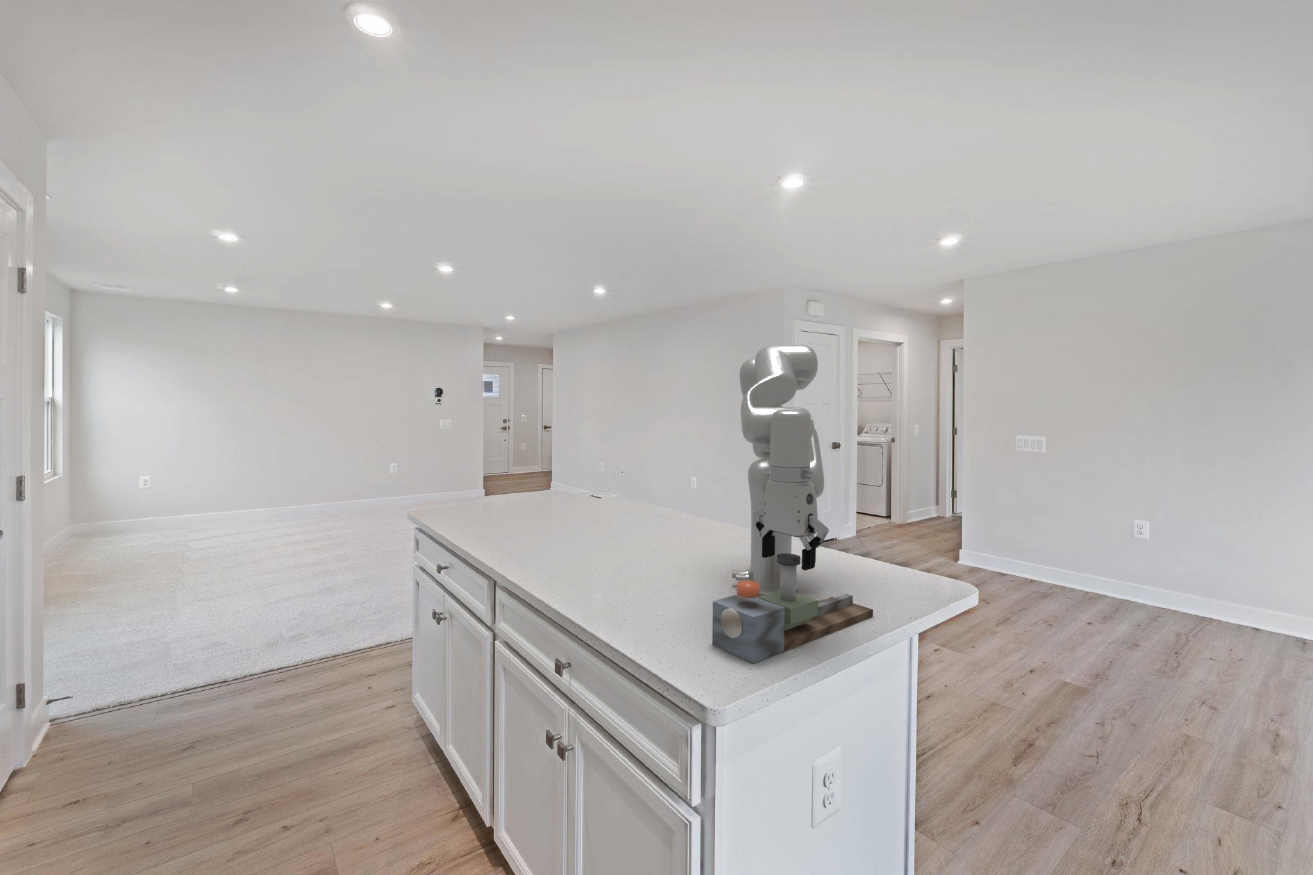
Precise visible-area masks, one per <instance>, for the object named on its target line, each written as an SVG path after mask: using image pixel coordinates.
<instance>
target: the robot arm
mask: <svg viewBox="0 0 1313 875" xmlns="http://www.w3.org/2000/svg"><path fill="white" fill-rule="evenodd" d="M818 365H819V362H818V356H817V353H816V352H815V350H814V349H813V348H812V347H811V346H809V345H807V344H806V345H805V344H772V345H767V346H766V345H765V346H764V347H762V348H760V349H759V350H758V351H757V353H756V355H755V357H754V358H749V359H747V360H744V361H743V363H742V364H741V366H740V367H739V368H740V369H739V383H740V389H741V393H742V398H743V399H742V401H741V404H740V423H741V430H742V435H743V437H744V439H745V440H746V441H747V442H748V443H750V444H752V450H753V452H754V455H755V456H756V457H757V458H758V459H757V460H755V461H753V462H752V463H750V465H749V467H748V471H747V480H748V487H749V488H748V489H749V496H750V497H749V498H750V509H751V510H750V516H751V517H750V526H751V527H750V566H749V569H745V571H744V570H738V569H737V570H735V569H732V572H731V579H735V581H742V580H751V581H756V582H758V583H759V584H760V590H759V597H760V596H764V595H767V594H771V593H774V592H778V591H780V567H781V564H778V563H777V555H778V554H784V553H788V554H792V544H793V543H792V540H793V539H792V538H793V537H794V538H799V540H800V541H801V543H802V546H803V547H804V548H802V550H801V570H802V571H809V570H813V569H815V567H816V561H817V560H816V559H817V556H816V555H817V548H819V547H820V545H822V544H823V542H825V539H826V538H827V535H828V533H829V532H830V531H829V530H830V529H829V528H828V527H827V526H826V525H825V524H824V523H823V522H821V521H820V519H818V502H817V499H818V498H820V497H821V495H822V494H823V493H824V489H825V474H824V467H823V461H822V460H823V459H822V455H821V447H820V446H821V445H820V441H819V435H818V432H817V429H816V428H815V421H814V417H813V416H812V415H811V412H810V411H809V410H808V409H806V408H804V407H795V406H793V407H787V406H784V407H783V406H782V405H785V404H786V403H788V402H790V401H791V400H793V398H794V397H795V395H796V393H797V391H801V390H804V389H806V388H807V387H808V386H809V385H810V384H811V383H812V382H813V380H814V378H815V377H816V375H817V373H818V368H819V367H818ZM815 534H816V535H815ZM796 593H798V586H797V585H796Z"/></svg>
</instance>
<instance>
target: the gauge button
mask: <svg viewBox="0 0 1313 875" xmlns="http://www.w3.org/2000/svg"><path fill="white" fill-rule="evenodd" d="M759 590H760V584H759V583H758V582H756V581H751V580H741V581H740V580H737V582H736V595H738V596H740V597H743V598H756V597H757V598H758V597H760V596H759Z"/></svg>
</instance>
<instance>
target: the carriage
mask: <svg viewBox="0 0 1313 875" xmlns="http://www.w3.org/2000/svg"><path fill="white" fill-rule="evenodd" d="M801 561H802V556H800V555H798V554H796V553H795V554H794V553H791V554H788V553H784V554H778V555H777V563H778V564H781V567H780V591H778V592H774V593H771V594H767V595H764V596H759V597H757V598H759V599H762V600H765V601H768V602H771V603H774V604H776V605H779V606H782V607H785V613H784V631H785V630H788V629H791V628H793V627H796V626H799V625H802V624H805V623H807V622H810V621H812V617H815V616H818V601H819V599H816V598H813V597H810V596H807V595H804V594H800V593H798V592H797V593H796V586H797V569H798V568H797V566H799V565H801Z"/></svg>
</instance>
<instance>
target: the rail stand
mask: <svg viewBox="0 0 1313 875" xmlns="http://www.w3.org/2000/svg"><path fill="white" fill-rule="evenodd" d="M853 598H854V595H852V594H849V593H845V594H841V595H838V596H836V597H835V596H829V597H827V598H824V599H821V600H818V616H815V617H812V621H810V622H807V623H805V624H802V625H799V626H796V627H793V628H791V629H788V630H785V631H784V613H785V607H782V606H779V605H776V604H774V603H771V602H768V601H765V600H762V599H759V598H758V597H756V598H743V597H740V596H738V595H737V594H734V595H730V596H727V597H723V598H719V599H715V600H712V630H711V631H712V632H711V634H712V635H711V637H712V642H711V643H712V645H713V646H715V647H717V648H719V649H721V650H723V651H725V652H727V653H730V654H732V655H733V656H736V657H737V658H738V657H739V658H740V659H742V660H744V661H746V662H749V663H751V664H756V663H759V662H761V661H764V660H767V659H768V658H771V657H773V656H776V655H779V654H781V653H783V652H786V651H789V650H792V649H794V648H796V647H799V646H802V645H804V644H807V643H809V642H812V641H813V640H817V639H819V638H823V637H824V636H827V635H830V634H832V633H834V632H838V631H839V630H842V629H844V628H848V627H850V626H852V625H855V624H858V623H860V622H862V621H865V620H868V619H870V618H873V617H874V609H873V608H869V607H867V606H863V605H860V604H856V603H854V600H853Z"/></svg>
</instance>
